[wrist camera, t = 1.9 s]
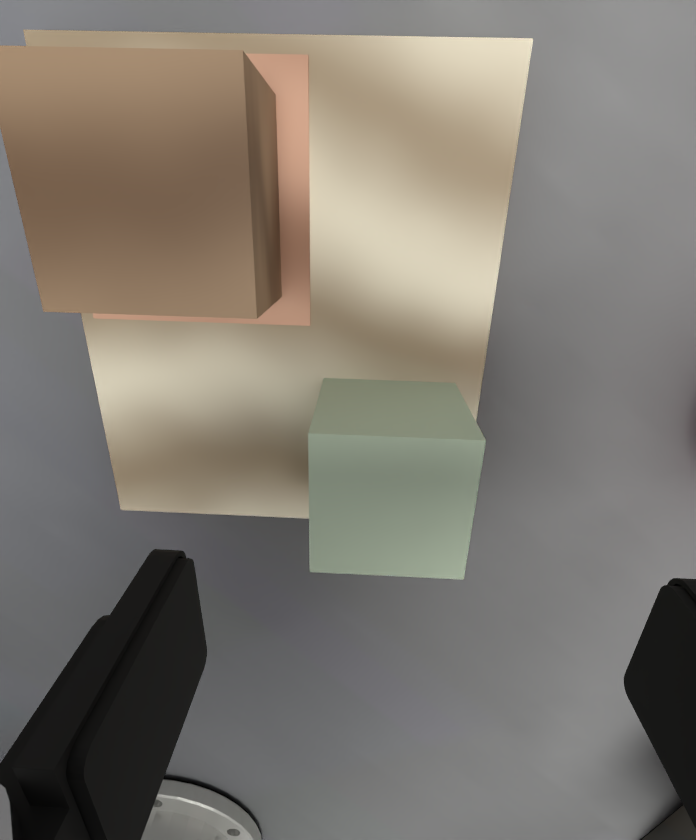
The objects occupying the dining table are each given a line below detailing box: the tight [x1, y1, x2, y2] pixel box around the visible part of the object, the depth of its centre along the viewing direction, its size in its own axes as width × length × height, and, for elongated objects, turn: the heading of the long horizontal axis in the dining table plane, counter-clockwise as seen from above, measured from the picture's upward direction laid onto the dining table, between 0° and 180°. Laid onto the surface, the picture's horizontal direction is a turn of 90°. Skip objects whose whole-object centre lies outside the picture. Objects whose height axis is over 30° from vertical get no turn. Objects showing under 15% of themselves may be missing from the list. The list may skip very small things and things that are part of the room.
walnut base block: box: [0, 46, 282, 319], centre depth 13 cm, size 6×6×4 cm
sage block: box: [308, 378, 486, 580], centre depth 16 cm, size 5×5×5 cm
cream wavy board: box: [23, 30, 533, 519], centre depth 17 cm, size 17×15×1 cm
